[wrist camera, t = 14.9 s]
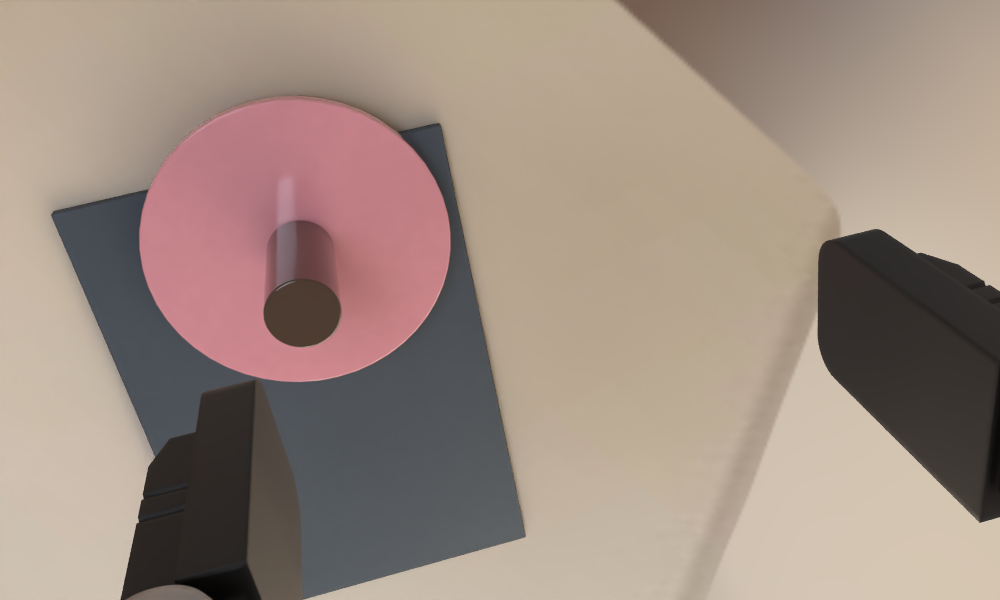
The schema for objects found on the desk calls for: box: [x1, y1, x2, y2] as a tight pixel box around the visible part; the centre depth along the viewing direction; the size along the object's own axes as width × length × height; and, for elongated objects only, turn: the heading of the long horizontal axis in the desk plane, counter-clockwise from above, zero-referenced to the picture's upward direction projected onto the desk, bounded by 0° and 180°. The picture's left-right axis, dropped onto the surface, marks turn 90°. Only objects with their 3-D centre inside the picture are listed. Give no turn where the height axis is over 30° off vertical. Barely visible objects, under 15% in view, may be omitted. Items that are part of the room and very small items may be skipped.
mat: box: [51, 123, 525, 599], centre depth 38 cm, size 20×14×1 cm
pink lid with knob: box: [139, 96, 451, 382], centre depth 32 cm, size 11×11×6 cm
